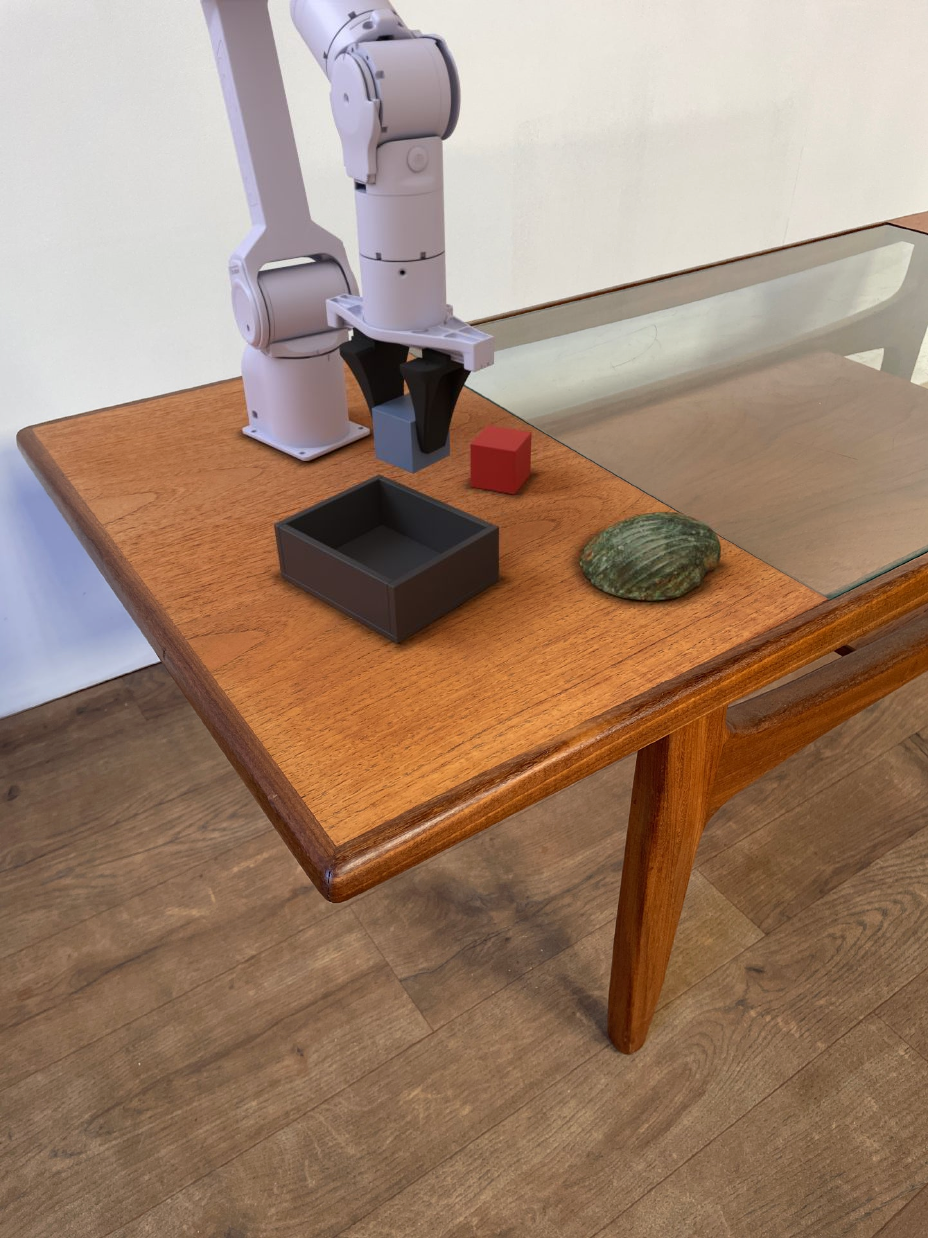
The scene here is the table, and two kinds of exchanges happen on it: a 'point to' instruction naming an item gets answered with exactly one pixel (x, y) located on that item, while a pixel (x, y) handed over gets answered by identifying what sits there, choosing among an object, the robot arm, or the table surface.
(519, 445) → the red block
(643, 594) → the seashell
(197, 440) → the table surface
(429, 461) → the blue block
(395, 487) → the bin
